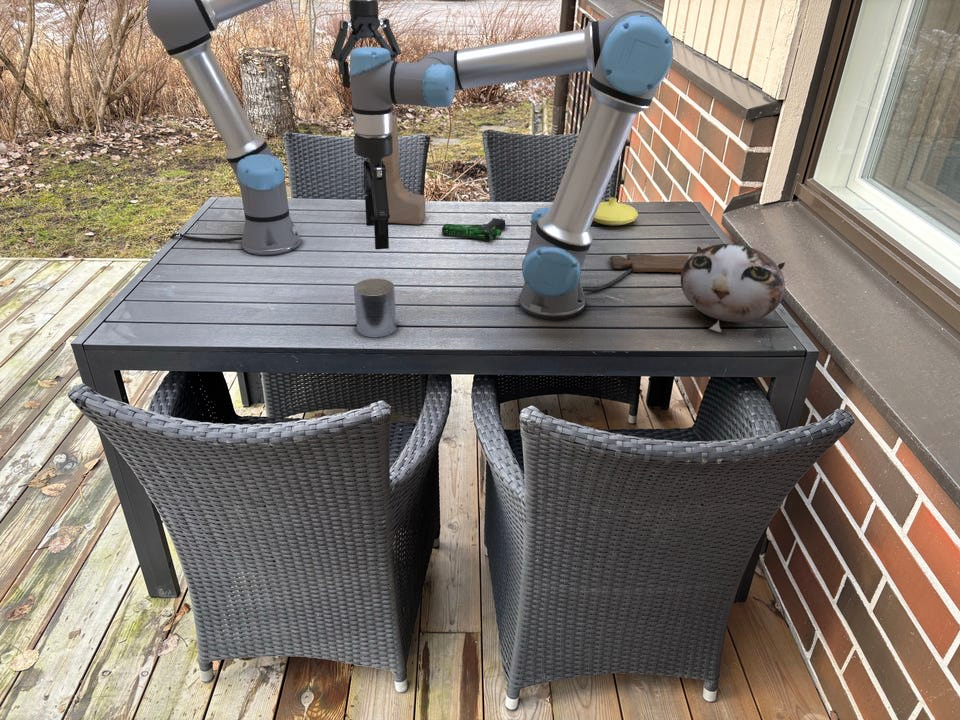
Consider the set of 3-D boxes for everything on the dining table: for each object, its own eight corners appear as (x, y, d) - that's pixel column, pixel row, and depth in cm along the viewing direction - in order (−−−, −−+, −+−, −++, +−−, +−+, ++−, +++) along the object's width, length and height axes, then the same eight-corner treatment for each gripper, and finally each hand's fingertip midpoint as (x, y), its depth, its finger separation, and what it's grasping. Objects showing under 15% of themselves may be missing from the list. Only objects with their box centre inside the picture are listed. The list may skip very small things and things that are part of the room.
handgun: (511, 219, 210) (493, 234, 198) (511, 228, 211) (492, 244, 199) (461, 212, 215) (440, 226, 203) (461, 221, 217) (440, 236, 204)
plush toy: (658, 308, 155) (687, 223, 157) (673, 329, 171) (700, 252, 172) (764, 333, 144) (794, 241, 146) (770, 354, 160) (797, 271, 162)
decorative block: (420, 225, 212) (417, 121, 196) (371, 222, 213) (364, 118, 198) (426, 217, 218) (423, 115, 203) (378, 214, 220) (371, 113, 204)
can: (366, 340, 152) (362, 298, 147) (351, 324, 158) (347, 283, 153) (402, 331, 155) (400, 290, 150) (387, 316, 162) (384, 275, 157)
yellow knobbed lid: (599, 209, 226) (601, 187, 223) (645, 219, 218) (648, 197, 215) (575, 222, 215) (576, 200, 212) (622, 234, 207) (625, 211, 204)
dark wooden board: (713, 276, 184) (704, 260, 192) (715, 269, 183) (705, 255, 191) (613, 272, 184) (608, 257, 192) (614, 266, 183) (609, 251, 192)
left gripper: (326, 2, 178) (333, 91, 189) (411, -2, 191) (414, 82, 202) (313, -1, 183) (321, 87, 194) (397, -4, 196) (400, 78, 207)
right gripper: (346, 119, 149) (352, 217, 160) (361, 151, 129) (367, 260, 140) (382, 118, 151) (385, 215, 162) (403, 149, 130) (405, 257, 141)
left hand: (368, 85), depth 198 cm, fingers open, 13 cm apart
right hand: (377, 236), depth 151 cm, fingers open, 13 cm apart
